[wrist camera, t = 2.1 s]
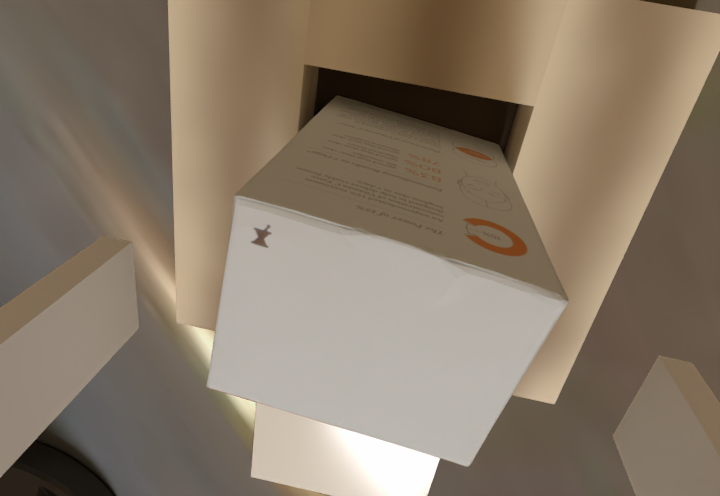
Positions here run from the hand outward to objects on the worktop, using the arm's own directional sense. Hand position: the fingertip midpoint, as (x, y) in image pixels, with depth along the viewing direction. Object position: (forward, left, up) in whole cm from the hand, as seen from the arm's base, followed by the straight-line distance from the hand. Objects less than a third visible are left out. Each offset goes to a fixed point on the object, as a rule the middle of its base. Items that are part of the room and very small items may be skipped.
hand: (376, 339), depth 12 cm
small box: (0, 0, -13) cm, 13 cm away
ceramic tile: (0, -18, -13) cm, 22 cm away
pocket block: (0, 0, -13) cm, 13 cm away
